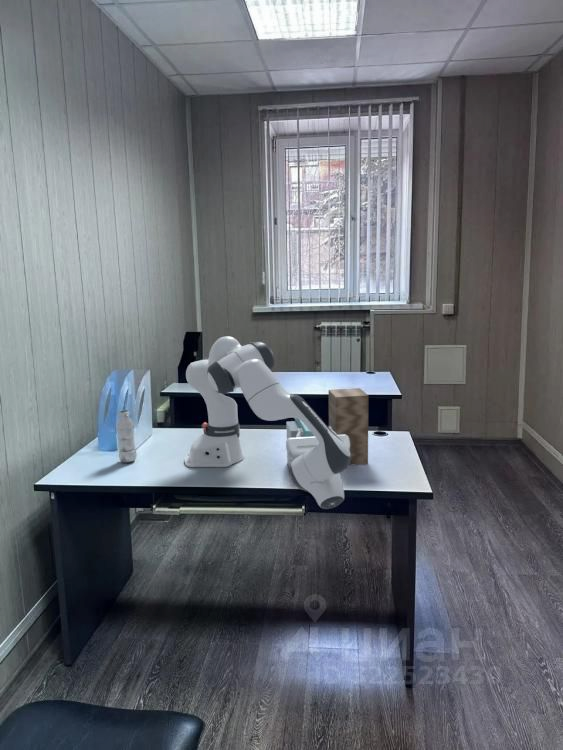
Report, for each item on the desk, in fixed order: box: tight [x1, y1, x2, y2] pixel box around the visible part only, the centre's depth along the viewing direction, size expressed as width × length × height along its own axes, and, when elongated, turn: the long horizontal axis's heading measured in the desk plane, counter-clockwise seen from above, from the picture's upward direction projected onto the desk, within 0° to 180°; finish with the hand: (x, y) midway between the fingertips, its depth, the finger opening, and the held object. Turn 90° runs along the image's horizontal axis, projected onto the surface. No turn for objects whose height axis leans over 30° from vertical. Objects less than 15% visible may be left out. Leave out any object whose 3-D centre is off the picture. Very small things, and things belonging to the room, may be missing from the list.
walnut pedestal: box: [328, 387, 369, 466], centre depth 202 cm, size 12×12×26 cm
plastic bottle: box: [115, 409, 138, 464], centre depth 207 cm, size 6×7×20 cm
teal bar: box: [293, 418, 314, 437], centre depth 191 cm, size 3×26×3 cm, turn 7°
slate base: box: [285, 420, 304, 469], centre depth 196 cm, size 10×12×16 cm
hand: (314, 428), depth 178 cm, fingers open, 8 cm apart
